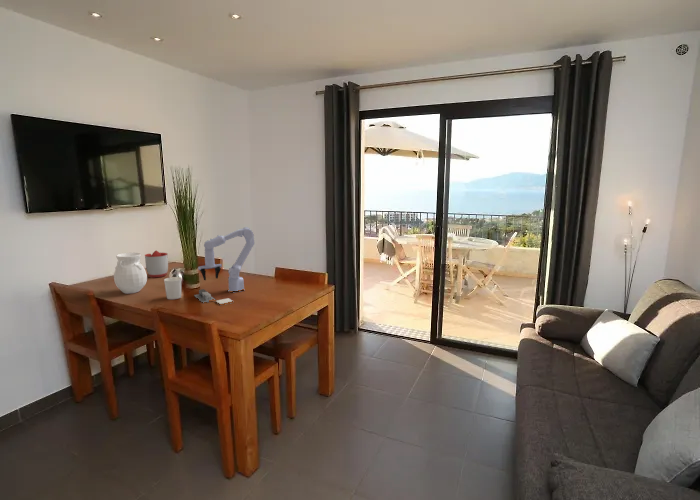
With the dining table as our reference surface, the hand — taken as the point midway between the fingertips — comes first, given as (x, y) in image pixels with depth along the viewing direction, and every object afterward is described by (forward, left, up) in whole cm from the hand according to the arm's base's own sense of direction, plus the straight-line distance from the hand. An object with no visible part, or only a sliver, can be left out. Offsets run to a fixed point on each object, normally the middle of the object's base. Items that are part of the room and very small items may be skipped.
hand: (210, 279), depth 238 cm
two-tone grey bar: (+7, +9, -9) cm, 15 cm away
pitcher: (+41, -33, -10) cm, 53 cm away
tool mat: (+7, +9, -9) cm, 15 cm away
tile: (0, +21, -9) cm, 23 cm away
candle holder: (+22, -4, -10) cm, 24 cm away
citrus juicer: (+19, -68, -10) cm, 71 cm away
